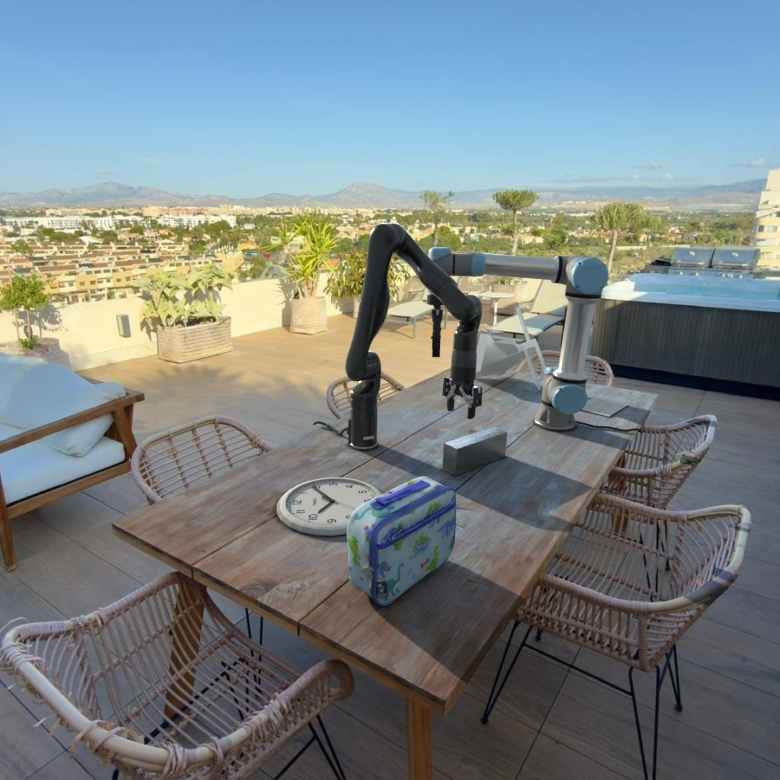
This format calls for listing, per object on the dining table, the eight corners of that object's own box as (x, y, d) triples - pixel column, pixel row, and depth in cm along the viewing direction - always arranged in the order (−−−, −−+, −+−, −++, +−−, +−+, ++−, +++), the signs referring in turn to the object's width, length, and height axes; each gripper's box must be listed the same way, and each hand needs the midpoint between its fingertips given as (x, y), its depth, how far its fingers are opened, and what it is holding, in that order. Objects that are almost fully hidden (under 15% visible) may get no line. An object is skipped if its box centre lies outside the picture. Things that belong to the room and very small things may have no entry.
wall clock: (392, 527, 129) (268, 531, 127) (391, 533, 130) (269, 537, 127) (383, 473, 158) (282, 475, 155) (383, 478, 158) (282, 480, 156)
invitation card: (608, 416, 214) (573, 407, 224) (608, 416, 214) (573, 408, 224) (628, 404, 229) (594, 396, 238) (628, 405, 229) (594, 397, 238)
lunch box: (376, 619, 101) (377, 524, 95) (340, 592, 109) (339, 502, 102) (459, 562, 119) (465, 479, 113) (424, 542, 126) (427, 463, 120)
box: (491, 451, 180) (493, 426, 177) (505, 456, 175) (507, 432, 173) (442, 468, 166) (443, 442, 163) (455, 475, 161) (457, 449, 159)
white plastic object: (486, 419, 265) (465, 396, 240) (467, 347, 287) (447, 319, 262) (557, 395, 253) (543, 369, 228) (532, 321, 275) (517, 290, 250)
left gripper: (438, 360, 158) (435, 410, 163) (472, 370, 148) (468, 424, 153) (455, 356, 163) (452, 406, 168) (490, 366, 152) (486, 418, 157)
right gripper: (427, 288, 194) (425, 344, 201) (426, 297, 170) (424, 360, 177) (447, 289, 194) (445, 345, 200) (450, 297, 170) (447, 361, 176)
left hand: (460, 414), depth 160 cm, fingers open, 8 cm apart
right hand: (435, 352), depth 188 cm, fingers open, 13 cm apart
